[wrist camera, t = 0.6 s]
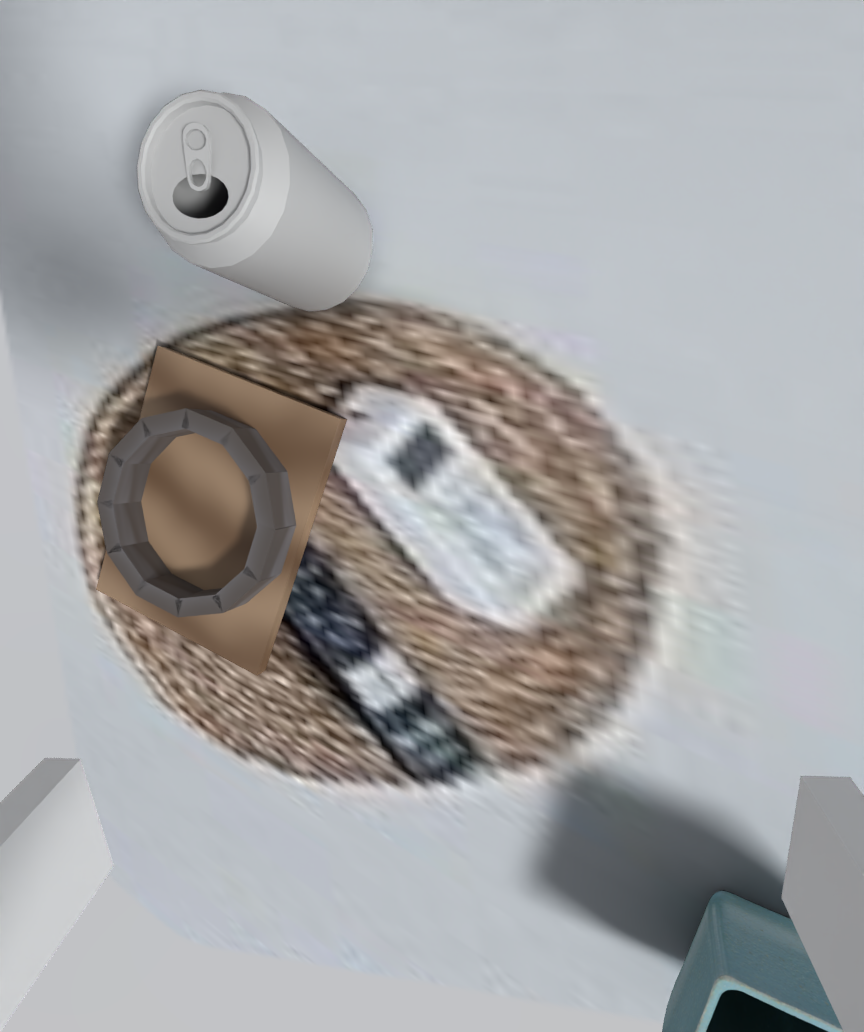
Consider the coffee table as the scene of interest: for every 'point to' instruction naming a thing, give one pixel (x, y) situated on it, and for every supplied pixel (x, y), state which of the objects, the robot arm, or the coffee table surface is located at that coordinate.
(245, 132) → the can
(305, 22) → the coffee table surface
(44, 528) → the coffee table surface
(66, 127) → the coffee table surface
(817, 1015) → the flower pot
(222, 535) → the can holder
